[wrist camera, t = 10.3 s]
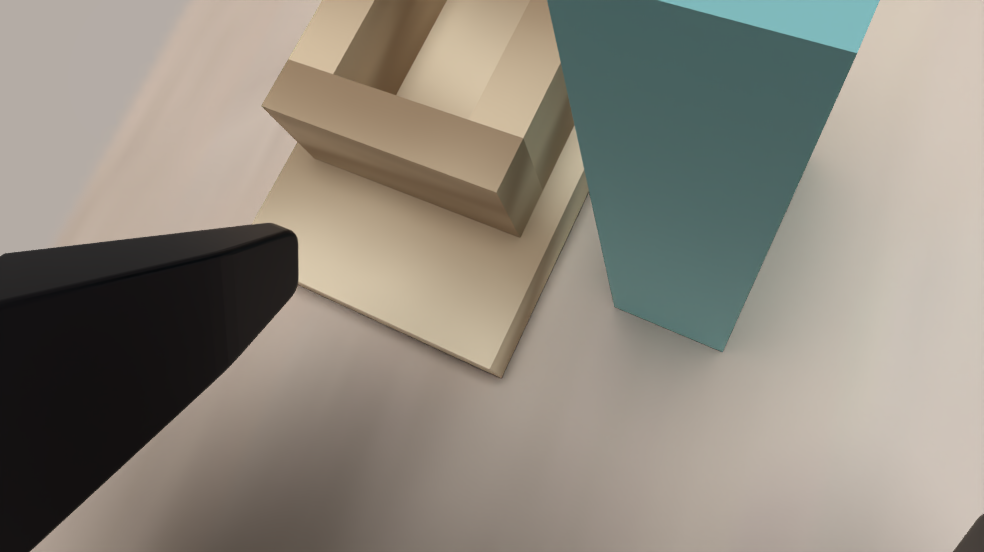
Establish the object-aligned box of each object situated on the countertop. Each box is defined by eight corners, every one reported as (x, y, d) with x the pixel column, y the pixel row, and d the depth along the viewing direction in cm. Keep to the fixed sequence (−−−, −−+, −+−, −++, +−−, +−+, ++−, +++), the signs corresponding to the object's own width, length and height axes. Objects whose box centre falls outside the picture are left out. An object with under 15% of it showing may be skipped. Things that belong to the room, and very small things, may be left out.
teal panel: (722, 352, 15) (857, 52, 5) (614, 307, 16) (539, -31, 6) (807, 153, 16) (1069, -447, 6) (700, 119, 17) (769, -462, 7)
